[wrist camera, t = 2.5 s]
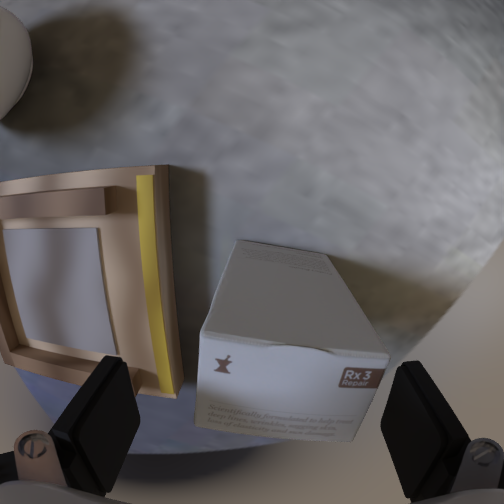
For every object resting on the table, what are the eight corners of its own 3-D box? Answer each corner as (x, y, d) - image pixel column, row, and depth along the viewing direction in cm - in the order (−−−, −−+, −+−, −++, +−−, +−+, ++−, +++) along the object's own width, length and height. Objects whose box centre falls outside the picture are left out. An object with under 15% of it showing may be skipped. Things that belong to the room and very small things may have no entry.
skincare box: (227, 298, 22) (183, 433, 10) (235, 233, 20) (188, 331, 9) (317, 312, 22) (350, 452, 10) (332, 249, 20) (396, 358, 9)
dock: (168, 164, 19) (144, 166, 16) (184, 378, 24) (171, 412, 20) (-2, 182, 20) (-35, 188, 17) (31, 351, 25) (8, 372, 21)
